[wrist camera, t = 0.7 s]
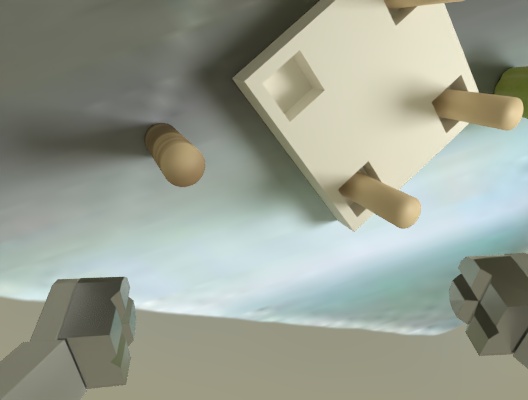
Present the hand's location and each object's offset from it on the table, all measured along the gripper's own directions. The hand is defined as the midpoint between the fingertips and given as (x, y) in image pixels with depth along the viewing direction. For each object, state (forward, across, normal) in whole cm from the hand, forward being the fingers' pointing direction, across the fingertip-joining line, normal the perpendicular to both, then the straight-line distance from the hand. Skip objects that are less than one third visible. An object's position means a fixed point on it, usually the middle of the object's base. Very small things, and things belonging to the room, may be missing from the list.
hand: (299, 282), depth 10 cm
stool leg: (+33, +8, +14) cm, 37 cm away
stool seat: (+41, -16, +12) cm, 46 cm away
